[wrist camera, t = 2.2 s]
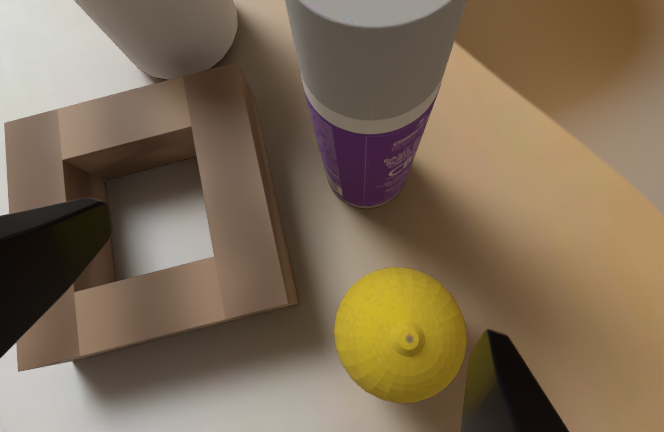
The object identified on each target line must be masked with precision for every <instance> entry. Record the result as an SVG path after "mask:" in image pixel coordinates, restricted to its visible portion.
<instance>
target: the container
mask: <svg viewBox="0 0 664 432" xmlns="http://www.w3.org/2000/svg"><path fill="white" fill-rule="evenodd" d="M285 2H286V7H287V12H288V16H289V21H290V26H291V31H292V35H293V40H294V45H295V49H296V54H297V59H298V64H299V68H300V73H301V78H302V83H303V88H304V92H305V96H306V99H307V103H308V107H309V111H310V115H311V118H312V122H313V126H314V130H315V134H316V137H317V141H318V145H319V149H320V152H321V156H322V160H323V164H324V168H325V171H326V175H327V179H328V182H329V184H330V186H331V188H332V190H333V192H334V193H335V194H336V195H337V196H338V197H339V198H340V199H341V200H342V201H344V202H345V203H347V204H349V205H352V206H354V207H359V208H374V207H378V206H381V205H384V204H386V203H388V202H389V201H391V200H392V199H393V198H394V197H395V196H396V195H397V194H398V193H399V192H400V190H401V189H402V187H403V185H404V183H405V180H406V178H407V175H408V172H409V170H410V167H411V164H412V162H413V159H414V156H415V153H416V151H417V148H418V145H419V143H420V140H421V137H422V135H423V132H424V129H425V127H426V124H427V121H428V118H429V116H430V113H431V110H432V108H433V105H434V102H435V100H436V97H437V94H438V91H439V89H440V85H441V81H442V78H443V75H444V72H445V68H446V65H447V62H448V59H449V56H450V53H451V49H452V46H453V43H454V40H455V36H456V34H457V30H458V27H459V24H460V21H461V18H462V15H463V11H464V8H465V5H466V2H467V0H285Z"/></svg>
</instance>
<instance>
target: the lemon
mask: <svg viewBox="0 0 664 432" xmlns="http://www.w3.org/2000/svg"><path fill="white" fill-rule="evenodd" d="M334 336H335V345H336V350H337V352H338V355H339V358H340V360H341V363H342V365H343V367H344V368H345V370H346V371H347V373H348V374H349V375H350V377H351V378H352V380H353V381H354V382H356V383H357V384H358V385H359V386H360V387H361V388H362V389H363V390H365V391H366V392H368V393H370V394H372V395H374V396H376V397H378V398H380V399H382V400H386V401H391V402H395V403H414V402H419V401H422V400H425V399H427V398H430V397H433V396H434V395H436V394H437V393H439V392H440V391H442V390H443V389H445V388H446V387H447V386H448V385H449V383H450V382H451V381H452V380H453V379H454V378H455V376H456V375H457V373H458V371H459V369H460V367H461V365H462V362H463V360H464V356H465V351H466V345H467V337H466V325H465V322H464V319H463V316H462V313H461V310H460V308H459V306H458V304H457V303H456V301H455V299H454V298H453V296H452V295H451V293H450V292H449V291H448V290H447V289H446V288H445V287H444V286H443V285H442V284H441V283H440V282H438V281H437V280H435V279H433V278H432V277H430V276H428V275H427V274H425V273H422V272H419V271H416V270H413V269H410V268H399V267H391V268H386V269H381V270H376V271H374V272H372V273H370V274H368V275H366V276H364V277H362V278H361V279H360V280H359V281H358V282H356V283H355V284H354V285H353V286H352V287H351V288H350V289H349V290H348V292H347V293H346V295H345V296H344V298H343V299H342V301H341V303H340V306H339V309H338V311H337V314H336V319H335V327H334Z"/></svg>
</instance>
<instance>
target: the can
mask: <svg viewBox="0 0 664 432" xmlns="http://www.w3.org/2000/svg"><path fill="white" fill-rule="evenodd" d="M74 1H75V2H76V3H77V4H78V5H79V6H80V7H81V8H82V9H83V10H84V11H85V12H86V14H87V15H88V16H89V17H90V18H91V19H92V20H93V21H94V22H95V23H96V24H97V25H98V26H99V27H100V28H101V29H102V31H103V32H104V33H105V34H106V35H107V36H108V37H109V38H110V39H111V40H112V41H113V42H114V43H115V44H116V45H117V46H118V47H119V49H120V50H121V51H122V52H123V53H124V54H125V55H126V56H127V57H128V58H129V59H130V60H131V61H132V62H133V63H134V64H135V66H136V67H137V68H138V69H140V70H142V71H143V72H145V73H147V74H149V75H151V76H152V77H156V78H162V79H168V80H171V79H175V78H178V77H182V76H186V75H190V74H194V73H197V72H201V71H205V70H208V69H210V68H211V67H212V66H213V65H215V64H216V63H217V62H218V61H220V60H221V59H222V58H223V57H224V55H225V54H226V52H227V51H228V50H229V48H230V47H231V45H232V44H233V41H234V38H235V35H236V31H237V28H238V21H237V10H236V8H235V5H234V3H233V0H74Z"/></svg>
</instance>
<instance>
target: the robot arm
mask: <svg viewBox="0 0 664 432" xmlns="http://www.w3.org/2000/svg"><path fill="white" fill-rule="evenodd" d="M112 231H113V229H112V223H111V217H110V211H109V207H108V205H107V203H105V202H104V201H101V200H98V199H95V198H91V197H87V198H82V199H77V200H72V201H68V202H63V203H58V204H54V205H49V206H44V207H40V208H35V209H30V210H26V211H21V212H16V213H11V214H7V215H2V216H0V358H1V357H2V356H3V355H4V354H5V353H6V352H7V351H8V350H9V349H10V348H11V347H12V346H13V345H14V344H15V343H16V342H17V341H18V340H19V339H20V338H21V337H22V336H23V335H24V334H25V333H26V332H27V331H28V330H29V329H30V328H31V327H32V326H33V325H34V324H35V323H36V322H37V321H38V320H39V319H40V318H41V317H42V316H43V315H44V314H45V313H46V312H47V311H48V310H49V309H50V308H51V307H52V306H53V305H54V304H55V303H56V302H57V301H58V300H59V299H60V298H61V297H62V295H63V294H64V293H65V292H66V291H67V290H68V289H69V288H70V287H71V286H72V285H73V283H74V282H75V281H76V280H77V279H78V277H79V276H80V275H81V274H82V272H83V271H84V270H85V269H86V268H87V266H88V265H89V264H90V263H91V261H92V260H93V259H94V258H95V256H96V255H97V254H98V253H99V252H100V250H101V249H102V248H103V247H104V245H105V244H106V243H107V242H108V240H109V239H110V237H111V235H112ZM461 432H569V430H568V429H567V427H566V426H565V424H564V423H563V421H562V420H561V418H560V416H559V415H558V413H557V412H556V410H555V409H554V407H553V405H552V404H551V402H550V401H549V399H548V398H547V396H546V394H545V393H544V391H543V390H542V388H541V387H540V385H539V383H538V382H537V380H536V379H535V377H534V376H533V374H532V373H531V371H530V369H529V368H528V366H527V365H526V363H525V362H524V360H523V358H522V357H521V355H520V354H519V352H518V351H517V349H516V347H515V346H514V344H513V343H512V341H511V340H510V338H509V337H508V336H507V335H506V334H503V333H500V332H497V331H494V330H491V329H487V330H486V331H484V333H483V334H482V336H481V338H480V339H479V341H478V343H477V344H476V346H475V348H474V349H473V351H472V353H471V355H470V358H469V363H468V372H467V380H466V389H465V397H464V406H463V415H462V424H461Z"/></svg>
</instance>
